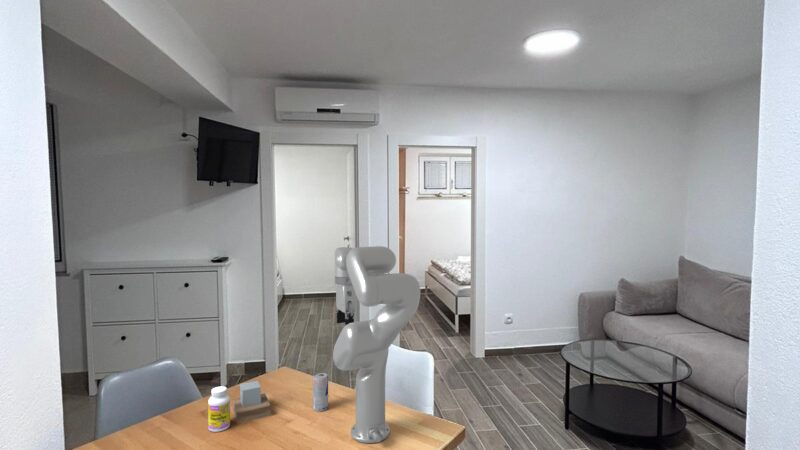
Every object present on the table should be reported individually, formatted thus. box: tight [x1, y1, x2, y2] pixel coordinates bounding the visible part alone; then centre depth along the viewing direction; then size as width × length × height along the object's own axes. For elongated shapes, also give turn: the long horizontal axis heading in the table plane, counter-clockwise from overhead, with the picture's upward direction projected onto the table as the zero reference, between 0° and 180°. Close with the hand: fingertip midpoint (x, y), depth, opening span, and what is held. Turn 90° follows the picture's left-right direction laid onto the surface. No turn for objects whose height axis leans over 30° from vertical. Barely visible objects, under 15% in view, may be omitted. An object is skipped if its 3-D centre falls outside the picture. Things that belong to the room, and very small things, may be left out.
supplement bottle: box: [207, 385, 231, 433], centre depth 136 cm, size 7×7×13 cm
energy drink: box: [312, 372, 329, 413], centre depth 149 cm, size 5×5×12 cm
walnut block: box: [232, 392, 272, 424], centre depth 146 cm, size 11×11×4 cm
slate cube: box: [239, 380, 262, 408], centre depth 146 cm, size 6×6×6 cm
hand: (345, 326), depth 154 cm, fingers open, 9 cm apart
